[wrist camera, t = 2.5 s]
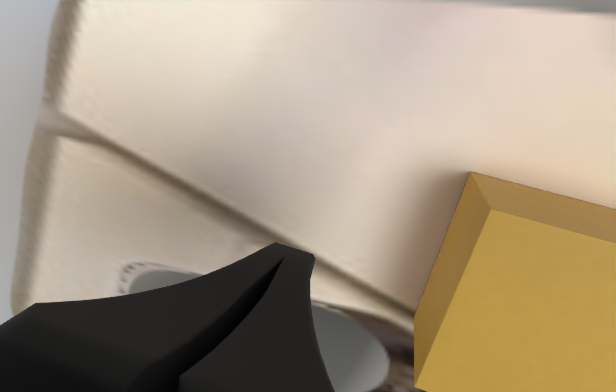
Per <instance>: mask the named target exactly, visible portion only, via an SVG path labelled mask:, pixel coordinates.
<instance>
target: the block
mask: <svg viewBox="0 0 616 392" xmlns="http://www.w3.org/2000/svg"><path fill="white" fill-rule="evenodd" d="M414 386H415V387H416V388H419V389H422V390H424V391H427V392H616V210H615V209H611V208H608V207H604V206H600V205H596V204H592V203H589V202H585V201H581V200H577V199H573V198H569V197H566V196H562V195H558V194H554V193H550V192H547V191H543V190H539V189H535V188H531V187H527V186H524V185H520V184H516V183H512V182H508V181H505V180H501V179H497V178H493V177H489V176H486V175H482V174H478V173H474V172H470V174H469V176H468V179H467V181H466V184H465V187H464V189H463V192H462V194H461V197H460V199H459V202H458V205H457V207H456V210H455V212H454V215H453V217H452V220H451V223H450V225H449V228H448V230H447V233H446V236H445V238H444V241H443V243H442V246H441V248H440V251H439V254H438V256H437V259H436V261H435V264H434V266H433V269H432V272H431V274H430V277H429V279H428V282H427V284H426V287H425V290H424V292H423V295H422V297H421V300H420V302H419V305H418V308H417V310H416V313H415V315H414Z"/></svg>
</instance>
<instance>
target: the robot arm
mask: <svg viewBox="0 0 616 392" xmlns="http://www.w3.org/2000/svg"><path fill="white" fill-rule="evenodd" d="M314 262H315V257H314V255H313V254H311V253H308V252H305V251H301V250H298V249H295V248H292V247H289V246H286V245H283V244H279V243H276V242H275V243H273V244H271V245H269V246H267V247H265V248H263V249H261V250H259V251H257V252H255V253H253V254H251V255H249V256H247V257H245V258H243V259H241V260H239V261H237V262H235V263H233V264H230V265H228V266H226V267H223V268H221V269H218V270H216V271H214V272H211V273H209V274H206V275H203V276H201V277H198V278H195V279H192V280H188V281H186V282H182V283H179V284H175V285H172V286H167V287H163V288H158V289H154V290H149V291H145V292H140V293H135V294H129V295H123V296H117V297H109V298H101V299H92V300H81V301H65V302H50V303H35V304H33V305H32V306H30V307H28V308H27V309H25V310H24V311H22V312H21V313H19V314H17V315H16V316H14V317H13V318H11V319H10V320H8V321H6V322H5V323H3V324H2V325H0V392H335V391H334V389H333V386H332V384H331V382H330V379H329V376H328V374H327V371H326V368H325V365H324V363H323V359H322V356H321V354H320V350H319V346H318V343H317V339H316V335H315V330H314V324H313V318H312V311H311V301H310V278H311V274H312V270H313V266H314Z"/></svg>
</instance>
